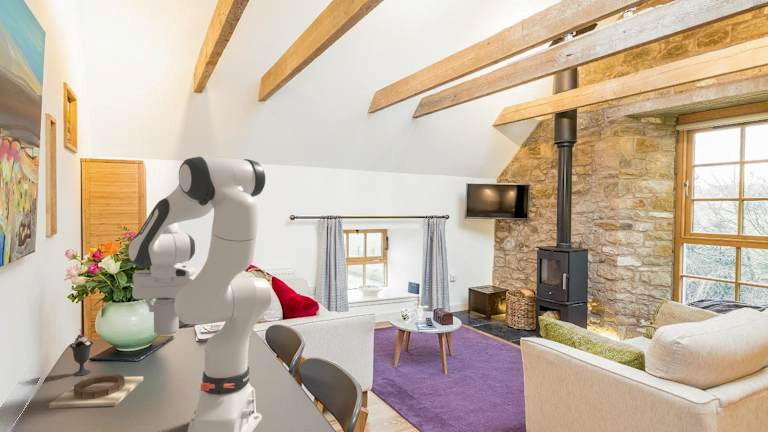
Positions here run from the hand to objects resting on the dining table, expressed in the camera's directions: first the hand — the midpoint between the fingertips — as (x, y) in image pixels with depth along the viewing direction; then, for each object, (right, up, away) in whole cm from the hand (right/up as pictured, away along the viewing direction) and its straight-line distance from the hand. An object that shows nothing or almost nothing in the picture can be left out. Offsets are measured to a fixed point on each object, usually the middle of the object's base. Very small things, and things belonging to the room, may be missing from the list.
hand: (166, 311), depth 145 cm
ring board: (-15, -23, -11) cm, 30 cm away
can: (0, -7, 0) cm, 7 cm away
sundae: (-31, -22, +4) cm, 38 cm away
